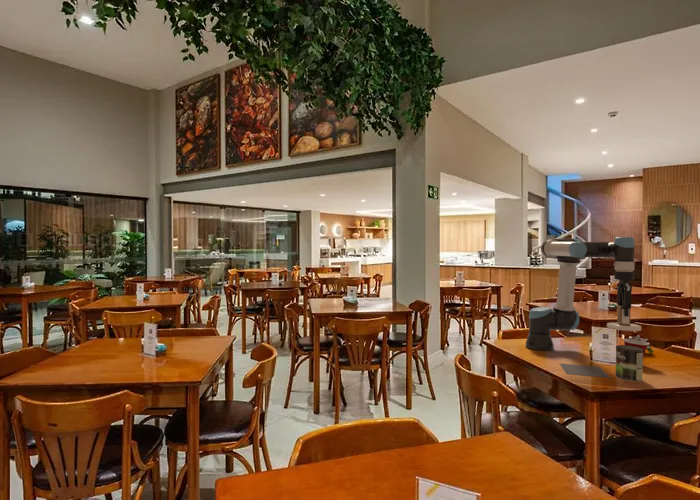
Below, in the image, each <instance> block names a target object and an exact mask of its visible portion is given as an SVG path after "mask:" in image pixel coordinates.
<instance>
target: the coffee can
mask: <svg viewBox="0 0 700 500" xmlns="http://www.w3.org/2000/svg"><path fill="white" fill-rule="evenodd" d="M643 362H644V359H643V349H642V348H639V347H635V346H628V345H625V344H619V345H616V346H615V377H616V378H617V379H620V380H623V381H628V382H643V381H644V380H643V374H644V373H643V370H644V369H643V368H644V367H643V366H644V364H643Z"/></svg>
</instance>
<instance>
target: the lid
mask: <svg viewBox="0 0 700 500" xmlns="http://www.w3.org/2000/svg"><path fill="white" fill-rule="evenodd" d="M616 307H617V319H616V322H607V323H606V328H607V329H612V330H616V331H622V332H623V331H624V332H641V331H642V326H641V325H638V324H634V323H631V308H630V309H629V324H623V323H622V309H621V307H623V306H618V305H617V306H616Z"/></svg>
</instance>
